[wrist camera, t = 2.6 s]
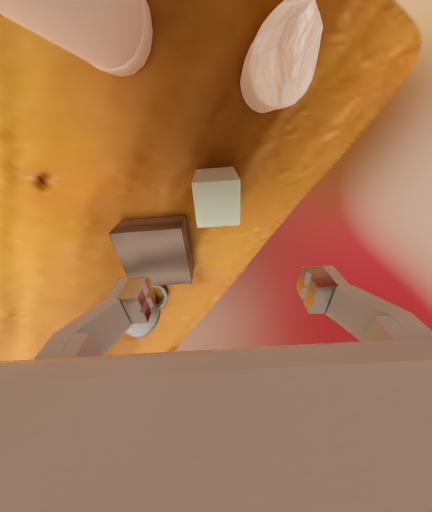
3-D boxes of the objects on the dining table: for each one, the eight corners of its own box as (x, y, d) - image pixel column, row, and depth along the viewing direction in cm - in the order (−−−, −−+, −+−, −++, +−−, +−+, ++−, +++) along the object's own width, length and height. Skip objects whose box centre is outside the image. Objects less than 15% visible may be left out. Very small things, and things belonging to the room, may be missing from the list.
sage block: (196, 169, 26) (191, 183, 19) (232, 166, 26) (240, 179, 19) (200, 204, 28) (197, 228, 22) (233, 202, 28) (240, 225, 22)
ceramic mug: (143, 315, 42) (131, 348, 36) (112, 295, 39) (93, 327, 32) (177, 294, 39) (172, 326, 33) (148, 270, 35) (135, 300, 29)
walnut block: (122, 219, 30) (108, 233, 26) (185, 214, 30) (181, 228, 25) (141, 268, 35) (132, 287, 31) (194, 265, 35) (191, 283, 31)
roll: (347, 96, 12) (262, 108, 13) (286, 110, 22) (239, 117, 22) (382, -67, 9) (264, -46, 9) (292, 35, 19) (236, 44, 19)
